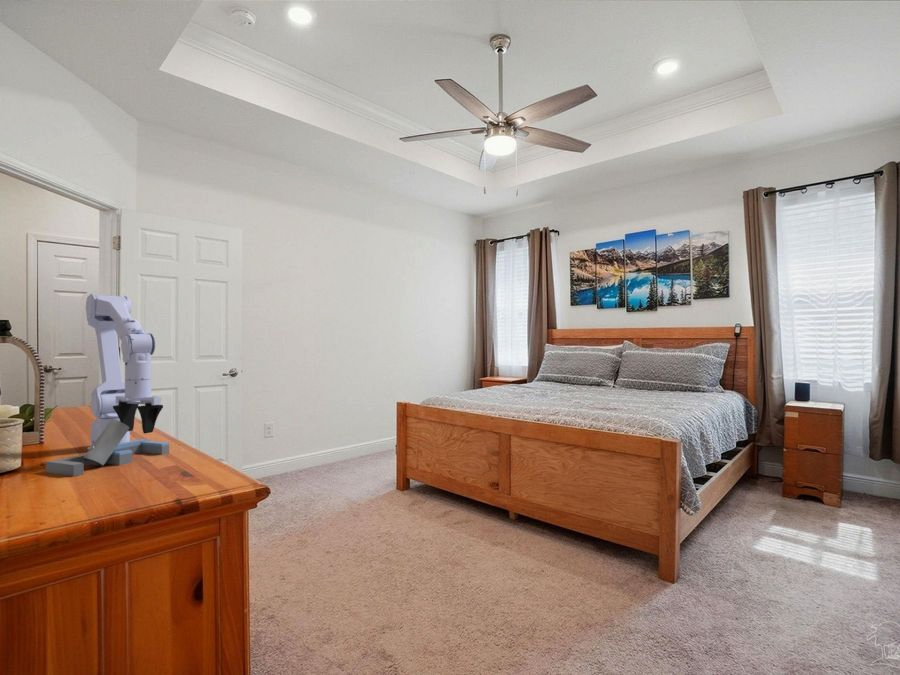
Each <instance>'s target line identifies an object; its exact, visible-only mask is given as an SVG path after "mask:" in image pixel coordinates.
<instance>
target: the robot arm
mask: <svg viewBox="0 0 900 675" xmlns="http://www.w3.org/2000/svg"><path fill="white" fill-rule="evenodd" d="M132 306H133V305H132V300H131V298H130V297H129V296H126V295H124V296H121V295H105V294H94V293H90V294H89V295H87V297H86V301H85V313H86V321H87V325H88V326H89V327H92V328H94V329H95V330H94V331H95V336H96V340H97V341H96V342H97V348H98V358H99V366H100V375H101V382H102V383H100V384H98V386H96V387H95V388H93V389H92V391H91V394H90V398H91V400H90V410H91V413H92V415H93V416H94V417H95V419H94V420H93V421H92V422H91V425H90V446H89V447H87V450H89V449H90V448H91V447H92V445H93V444H94V442H95V441H96V440H97V438H98V437H99V436H100V434H101V433H102V432H103V430H104V429H105V428H106V426H107V425H108V423H109V422H110V421H111V420H117V421H120V422H122V423H124V424H126V425H127V426H129V430H128V431H127V433H126V434H125V436H124V437H123V438H122V440H121V441H120V443H124V442H130V441H131V432H132V431H133V430H134V429H135V428H134V427H135V417H136V413H137V410H138V412H139V415H140V418H141V428H142V433H143V434H149V433H153V432H154V429H155V426H156V422H157V419H158V416H159V414H160V412H161V411H162V410H163V408H164V404H162V396H157V395H152V356H153V355H154V353H155V349H156V338H155V336H154V334H153V333H151V332H146V331H145V330H144V329H143V327H142V326H141V324H140V323H139V321H138V320H137V319H136V318H134V317H132V316H131V312H132ZM118 337H119V340H120V341H121V343H120V348H121V349H120V348H119V342H118ZM119 349H120V350H121V354H122V362H123V363H124V380H123V374H122V367H121V366H122V364H121V357H120V350H119Z"/></svg>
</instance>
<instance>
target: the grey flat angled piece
mask: <svg viewBox="0 0 900 675" xmlns="http://www.w3.org/2000/svg"><path fill="white" fill-rule="evenodd" d="M121 449H124V450H132V453H128V454H123V455H112V454H111V455H110V457H109V458H108V460H107V461H106V463H105V464H107V465H116V466H123V465H126V464H131V463H133V455H135V454H139V453H144V454H152V455H161V456H162V455H167V454H170V444H169V445H165V446H154V445H143V444H141V445H136V446H131V447H126V448H121ZM85 455H86V453H83V454H77V455H75V456H74V455H73V456H68V457H64V458H59V459H53V460H48V461H46V463H45V465H46V466H45V467H46V468H45V472H46V473H48V474H55V475H62V476H63V475H64V476H68V477H69V476H70V477H77V476H81V475H84V470H85V469H84V466H88V465H92V464H91V463H89V462H87V461H85V460H84V459H83V458H84V456H85Z"/></svg>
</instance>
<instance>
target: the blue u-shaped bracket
mask: <svg viewBox="0 0 900 675" xmlns="http://www.w3.org/2000/svg"><path fill="white" fill-rule="evenodd" d="M141 444H143V445H154V446H165V445H169V446H170V442H167V441H157V440H155V441H154V440H147V439H143V438H141V439H135V440H130V442H124V443H119V444H118V446H117V447H116V448H115V450H114V451H113V453H112V455H123V454H128V453H132V450H124V449H121V448H126V447H131V446H136V445H141Z"/></svg>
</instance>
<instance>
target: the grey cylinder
mask: <svg viewBox="0 0 900 675" xmlns="http://www.w3.org/2000/svg"><path fill="white" fill-rule="evenodd" d="M128 430H129V426H127V425H126V424H124V423H122V422H120V421H117V420H111V421H110V422H109V423H108V425H107V426H106V428H105V429H104V430H103V432H102V433H101V434H100V436H99V437H98V438H97V440H96V441H95V442H94V444H93V445H92V447H91V446H90V447H91V448H90V449H88V451H87V452H86V453H85V454H86V455H85V456H84V458H83V459H84V460H85V461H87V462H89V463H91V464H90V465H94V466H98V467H103V466H104V465H105V464H106V461H107V460H108V458H109V457H110V455H111V454H112V453H113V451H114V450H115V448H116V447H117V446H118V444H119V443H120V441H121V440H122V438H123V437H124V436H125V434H126V433H127V431H128Z"/></svg>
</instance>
